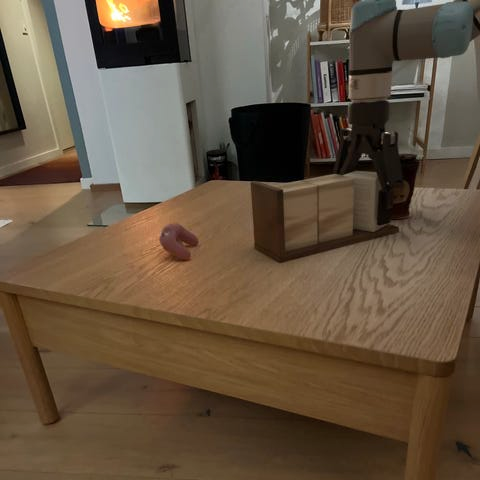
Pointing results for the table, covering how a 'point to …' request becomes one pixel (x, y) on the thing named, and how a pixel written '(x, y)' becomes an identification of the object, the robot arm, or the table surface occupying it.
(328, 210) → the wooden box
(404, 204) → the coffee cup
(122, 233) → the table surface
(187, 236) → the pink curved tube
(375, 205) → the small box
